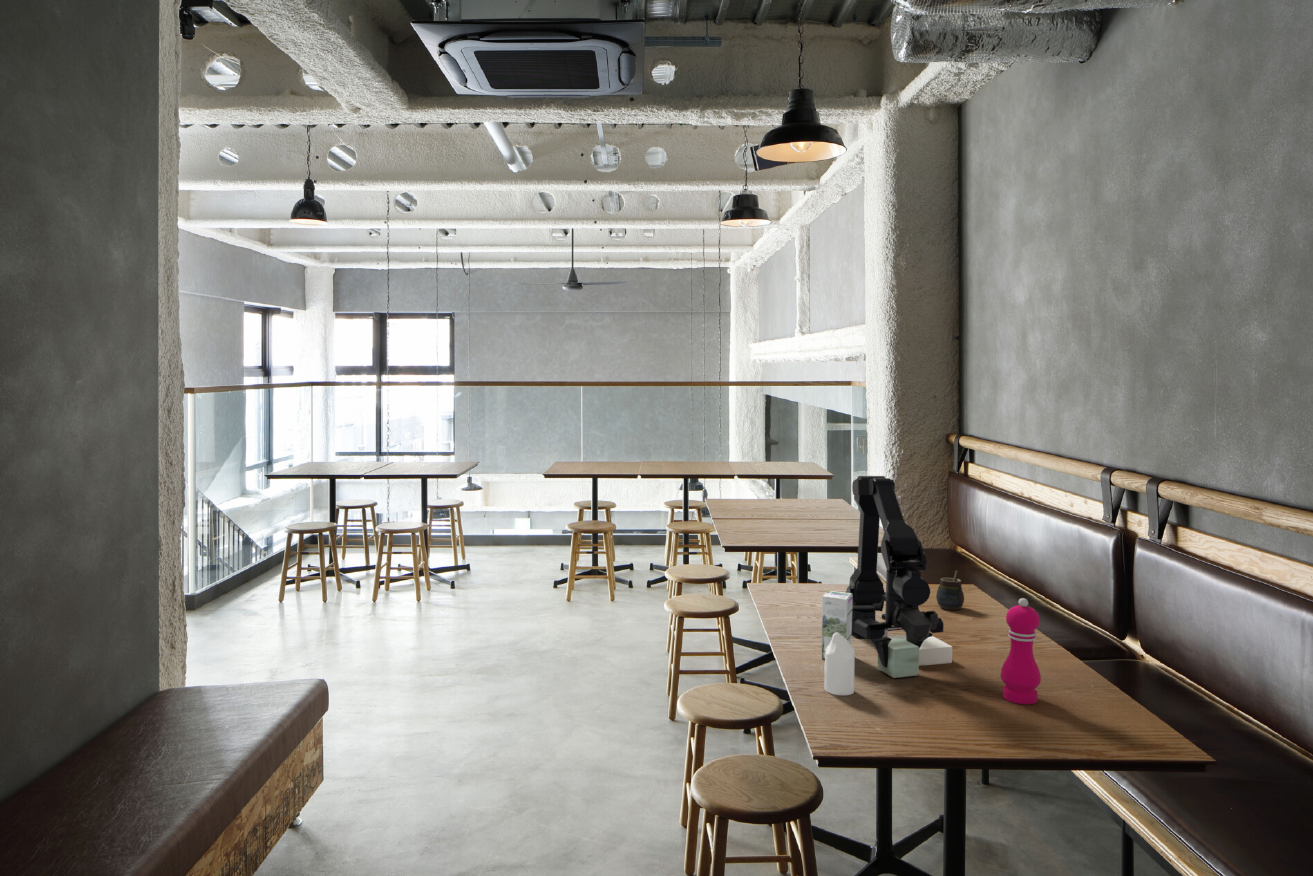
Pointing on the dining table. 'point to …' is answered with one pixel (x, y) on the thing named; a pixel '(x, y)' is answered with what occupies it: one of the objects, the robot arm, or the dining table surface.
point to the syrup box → (836, 617)
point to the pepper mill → (1021, 656)
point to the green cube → (901, 659)
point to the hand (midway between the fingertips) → (897, 665)
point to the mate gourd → (950, 593)
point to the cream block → (932, 651)
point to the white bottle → (839, 666)
